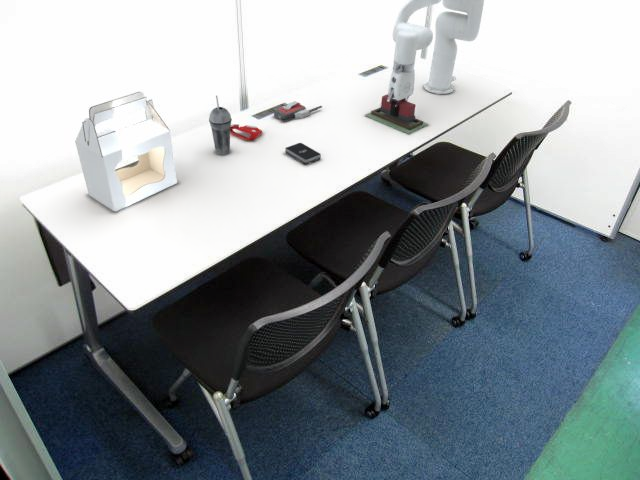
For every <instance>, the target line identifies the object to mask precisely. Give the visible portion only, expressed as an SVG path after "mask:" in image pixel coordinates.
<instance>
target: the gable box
mask: <svg viewBox="0 0 640 480" xmlns="http://www.w3.org/2000/svg"><path fill="white" fill-rule="evenodd" d="M147 98H148V97H147V96H145V93H143V92H142V91H137V92H134V93H130V94H127V95H124V96H121V97H117V98H115V99H111V100H108V101H105V102H102V103H98V104H95V105H93V106H92V105H91V106H90V107H89V109H88V117H89V118H85V119H84V120H83V121H82V122H81V123H82V125H81V127H80V129H79V131H78V133H77V136H76V138H75V141H74V142H75V146H76V151H77V155H78V158H79V162H80V166H81V167H80V168H81V170H82V174H83V179H84V182H85V185H86V190H87V194H88V196H89V197H91V198H92V199H94V200H96V201H97V202H99V203H100V204H102V205H104V207H106V208H108V209H109V210H111V211H113V212H114V213H115V212H116V213H117V212H118V211H120V210H123V209H125V208H127V207H129V206H131V205H133V204H135V203H138V202H140V201H142V200H144V199H147V198H148V197H151V196H153V195H155V194H157V193H159V192H162V191H164V190H166V189H168V188H170V187H172V186H174V185H177V184H178V180H177V179H178V178H177V172H176V164H175V157H174V150H173V149H174V148H173V144H172V143H173V141H172V136H171V130H170V129H169V127H168V126H167V124H166V123H165V121H164V120H163V119H162V117H161V116H160V114H159V113H158V111H157V110H156V109H155V106H154V101H153V99H151V98H150V99H148V100H147ZM138 110H141V117H137V118H135V119H133V120H129V121H126V122H124V123H120V124H118V125H115V126H113V127H110V128H107V129H103V130H101V131H98V132H97V131H96V125H97V124H100V123H102V122H106V121H109V120H111V119H114V118H117V117H121V116H123V115H125V114H130V113H133V112H135V111H138ZM132 157H133V158H134V157H137V159H138V162H137V163H136V164H135V165H133V166H126V167H125V166H124V167H121V168H118V169H116V168H117V166H118V165H119V163H121V162H123V161H124V160H127V159H129V158H132Z"/></svg>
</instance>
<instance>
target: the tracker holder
mask: <svg viewBox="0 0 640 480" xmlns="http://www.w3.org/2000/svg"><path fill="white" fill-rule="evenodd" d="M235 130H237V131H238V132H243V133H246V134H248V135H249V136H248V137H247V136H245V135H242V134H240V133H238V132H236V131H235ZM230 134H232V136H233V135H234V136H235V137H237V138H240V139H243V140H245V141H255V140H256V139H257V138H258V137H259V136H260V135H262V134H263V130H262V129H260V128H258V127H257V126H254V125H250V124H249V125H247V124H246V125H244V126H240V124H239V123H233V124H231V126H230Z"/></svg>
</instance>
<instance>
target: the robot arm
mask: <svg viewBox="0 0 640 480" xmlns="http://www.w3.org/2000/svg"><path fill="white" fill-rule="evenodd" d="M441 1H442V2H441ZM439 3H442V5H443V8H445V9H448V10H451V11H448V10H447V11H442V12H440V13H439V14H438V15H437V17H436V20H435V23H434V24H435V26H434V27H435V28H434V29H435V30H434V32H435V34H434V33H433V31H432V29H431V28H429V27H426V26H423V25H418V24H415V23H410V22H408V21H409V19H410V18H411V16H412V15H414V14H415V13H416V12H417V11H418V10H422V9H424V8H426V7H430V6H435V5H436V4H439ZM484 5H485V0H408V1H407V2H406V3H405V4H404V5H403V6H402V8H400V11H398V15H397V17H396V20H395V24H394V25H393V26H394V27H393V31H392V39H393V41H394V42H395V47H394V54H393V63H392V71H391V75H390V79H389V84H388V89H387V91H388V92H387V94H388V99H387V102H389V103H390V105H391V110H390V115H392V116H394V117H397V116H398V109H399V107H398V103H399V100H405V101H407V102H408V99H409V98H410V97H411V96H412V95H413V94H414V90H415V81H416V79H415V78H416V73H415V71H416V70H415V63H416V55H417V51H419V50H424V49H427V48H428V47H430V45H431V44H432V42H433V39H434V46H433V50H432V51H433V52H432V58H431V64H430V71H429V75H428V76H429V77H428V81H427V82H425V83H424V85H423V88H424V90H426V91H427V92H429V93H431V94H432V93H433V94H437V95H449V94H451V93H453V92H454V90H455V89H454V86H453V85H452V83H453V82H455V81H457V77H456V76H455V75H453V74H454V70H455V63H456V58H457V53H458V45H457V41H456V40H459V41H464V42H473V41H475V40H476V39H477V37H478V35H479V33H480V26H481V22H482V16H483V10H484ZM461 12H462V13H461ZM465 13H466V14H465ZM434 35H435V36H434ZM394 100H396V103H395V101H394Z"/></svg>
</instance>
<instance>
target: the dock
mask: <svg viewBox="0 0 640 480" xmlns="http://www.w3.org/2000/svg"><path fill="white" fill-rule="evenodd" d="M365 117H367V118H369V119H371V120H373V121H375V122H378V123H381V124H383V125H385V126H388V127H390V128H393V129H395V130H397V131H399V132H402V133H405V134H407V135H410V134H412V133H414V132H416V131H418V130H421V129H423V128H425V127H428V126H429V123H427V122H425V121H423V120H422V119H421V120H420V119H418V118H417V117H415V120H414V121H412V122H410V123H408V122H406V121H403V120H401V119H398V118H396V117H393V116H391V115H388V114H386V113H384V112H381V111H380V107H377V108H375V109H373V110H371V111H370V112H369V113H366V114H365Z"/></svg>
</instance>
